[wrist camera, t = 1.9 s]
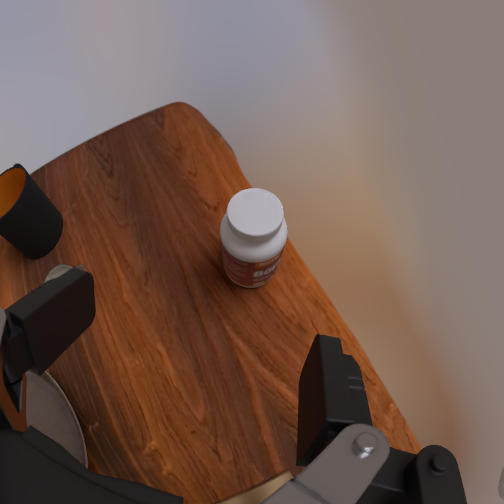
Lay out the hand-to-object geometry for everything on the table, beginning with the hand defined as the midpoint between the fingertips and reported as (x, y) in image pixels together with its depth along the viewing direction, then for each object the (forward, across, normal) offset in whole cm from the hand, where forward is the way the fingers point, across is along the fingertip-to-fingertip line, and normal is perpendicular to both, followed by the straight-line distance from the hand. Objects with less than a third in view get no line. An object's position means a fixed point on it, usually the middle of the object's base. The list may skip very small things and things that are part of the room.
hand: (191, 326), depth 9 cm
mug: (+23, +31, +8) cm, 40 cm away
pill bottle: (+24, 0, +7) cm, 25 cm away
